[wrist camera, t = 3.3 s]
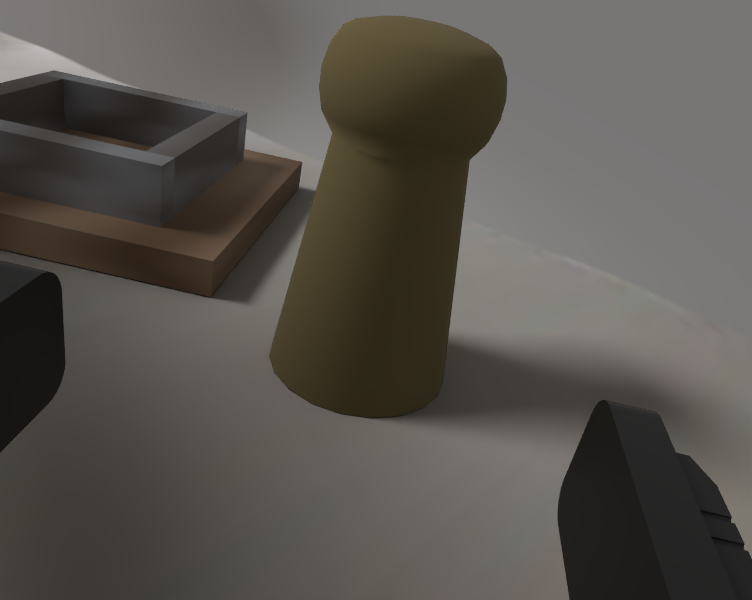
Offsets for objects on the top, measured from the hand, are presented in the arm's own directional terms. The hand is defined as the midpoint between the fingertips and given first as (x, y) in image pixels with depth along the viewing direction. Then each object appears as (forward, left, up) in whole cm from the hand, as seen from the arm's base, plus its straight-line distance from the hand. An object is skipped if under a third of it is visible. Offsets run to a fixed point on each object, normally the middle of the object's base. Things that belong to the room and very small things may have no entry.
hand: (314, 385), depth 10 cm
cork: (0, +11, -7) cm, 13 cm away
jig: (-14, +20, -7) cm, 25 cm away
